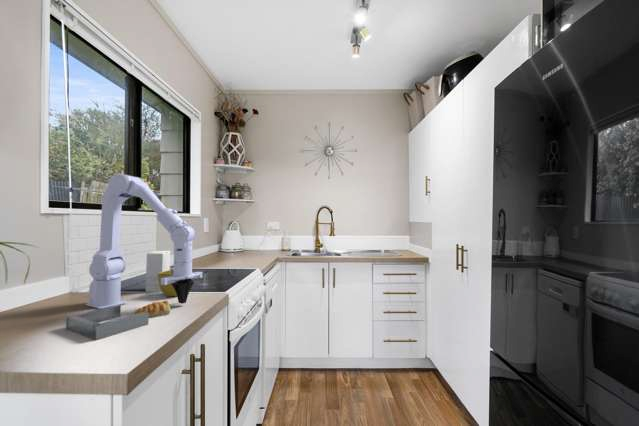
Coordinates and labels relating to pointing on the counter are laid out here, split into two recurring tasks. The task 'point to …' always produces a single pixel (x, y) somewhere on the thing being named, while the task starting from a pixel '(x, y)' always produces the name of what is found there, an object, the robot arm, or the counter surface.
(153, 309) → the pastry
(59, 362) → the counter surface
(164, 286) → the flower pot
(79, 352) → the counter surface
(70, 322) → the grey tray
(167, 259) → the skincare box
